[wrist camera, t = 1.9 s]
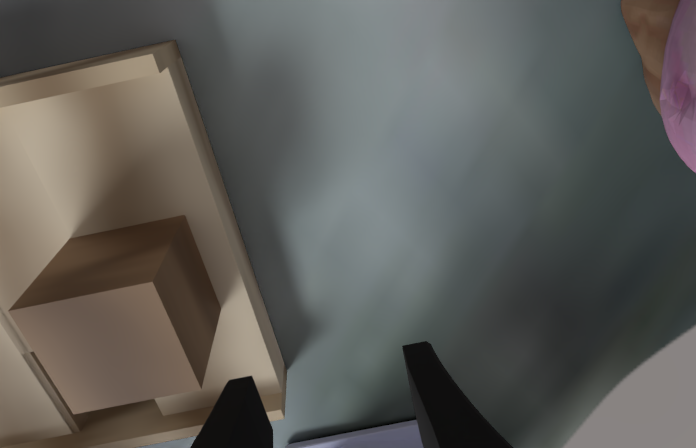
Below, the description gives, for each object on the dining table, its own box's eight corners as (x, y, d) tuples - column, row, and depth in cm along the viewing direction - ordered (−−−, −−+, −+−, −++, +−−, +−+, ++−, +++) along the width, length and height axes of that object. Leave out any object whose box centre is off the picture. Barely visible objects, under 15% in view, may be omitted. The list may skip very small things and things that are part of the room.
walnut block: (184, 214, 19) (152, 281, 15) (221, 308, 21) (201, 389, 17) (69, 238, 19) (7, 311, 15) (117, 329, 22) (73, 414, 18)
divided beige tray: (175, 39, 18) (147, 56, 15) (286, 371, 26) (283, 427, 23) (-338, 151, 19) (-466, 189, 16) (-83, 443, 26) (-135, 508, 23)
